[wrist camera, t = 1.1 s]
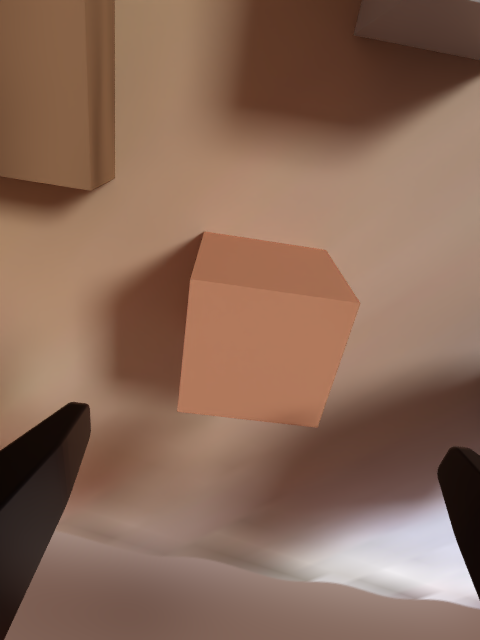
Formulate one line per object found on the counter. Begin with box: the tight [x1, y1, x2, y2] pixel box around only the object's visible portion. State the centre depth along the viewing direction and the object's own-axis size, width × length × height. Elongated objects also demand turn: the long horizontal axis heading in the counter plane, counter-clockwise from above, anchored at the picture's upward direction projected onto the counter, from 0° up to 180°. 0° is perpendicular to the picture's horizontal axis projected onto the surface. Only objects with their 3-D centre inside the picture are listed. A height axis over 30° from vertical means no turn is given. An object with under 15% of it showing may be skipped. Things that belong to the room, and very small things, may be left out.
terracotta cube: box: [177, 232, 360, 427], centre depth 14 cm, size 5×5×5 cm
